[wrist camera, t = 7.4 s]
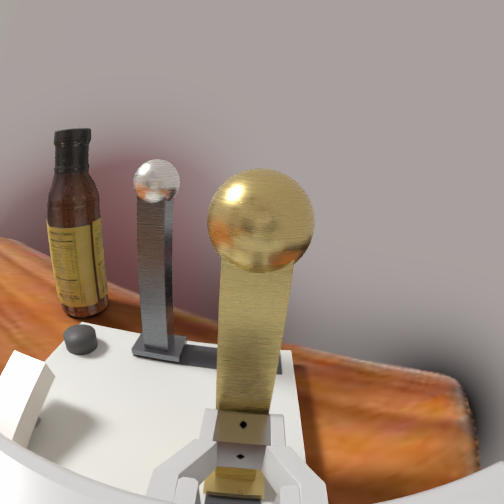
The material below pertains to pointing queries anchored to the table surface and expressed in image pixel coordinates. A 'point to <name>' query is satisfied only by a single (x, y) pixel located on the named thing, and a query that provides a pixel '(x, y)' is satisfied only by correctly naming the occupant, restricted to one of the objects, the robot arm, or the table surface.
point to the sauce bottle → (76, 227)
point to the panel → (138, 408)
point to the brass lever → (253, 296)
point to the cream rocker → (22, 396)
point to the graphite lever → (156, 260)
